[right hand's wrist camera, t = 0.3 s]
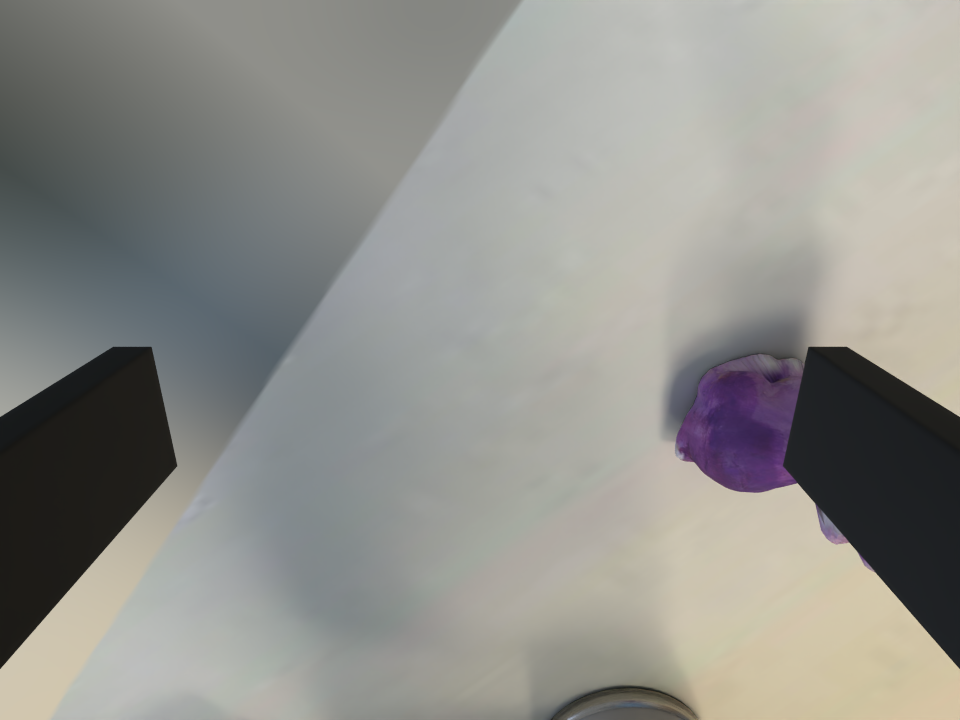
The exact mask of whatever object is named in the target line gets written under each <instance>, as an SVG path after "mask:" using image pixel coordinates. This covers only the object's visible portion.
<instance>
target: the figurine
mask: <svg viewBox="0 0 960 720" xmlns="http://www.w3.org/2000/svg"><path fill="white" fill-rule="evenodd" d="M804 365H805V364H803V363H802V362H801V361H800V360H798V359H795V358H789V359H781V360H777V359H775V358H773V357H772V356H771V355H765V354H758V355H750V356H747V357H741V358H740V359H736V360H732V361H729V362H726V363H724V364H721V365H719V366H716V367H714V368H712V369H710V370H709V371H708V372H707V373H706V374H705V375H704V376H702V378H701V381H700V383H699V386H698V394H697V397H696V399H695V402H694V405H693V406H692V408H691V409H690V411H689V412H688V414H687V415H686V417H685V419H684V422H683V424H682V426H681V428H680V430H679V432H678V435H677V437H676V443H675V453H676V456H677V457H678V458H679V459H680V460H682V461H688V462H695V463H696V464H697V466H698V467H699V468H700V470H701V471H702V472H703V473H704V474H706V475H707V476H708V477H710V478H711V479H713V480H714V481H716V482H717V483H719V484H721V485H723V486H724V487H726V488H728V489H731V490H735V491H739V492H754V493H757V492H765V491H769V490H772V489H774V488H779V487H784V486H788V485H792V484H796V483H797V482H796V481H795V479H794V478H793V477H792V476H791V475H790V474H789V473H788V471H787V470H786V469H785V468H784V467H783V462H784V458H785V453H786V449H787V444H788V439H789V435H790V430H791V425H792V421H793V416H794V412H795V407H796V402H797V398H798V393H799V389H800V384H801V379H802V375H803V370H804ZM816 509H817V513H818V518H819V522H820V527H821V531H822V532H823V534H824V535H825V537H826V538H827V539H828V540H829V541H831V542H832V543H834V544H844V543H848V542H849V541H848V540H847V539H846V538H845V537H844V536H843V535H842V533H841V532H840V531H839V530H838V529H837V528H836V526H835V525H834V524H833V523H832V522H831V521H830V520H829V518H828V517H827V516H826V515H825V514H824V513H823V512H822V510H821V509H820V508H819V507H818V506H817V505H816ZM858 554H859V553H858ZM859 556H860V558H861V559H862V561H863V563H864V565H865V566H866V567H867V568H868V569H870V570H871V571H873V572H875V571H874V570H873V569H872V568H871V567H870V565H869V564H868V563H867V562H866V561H865V560H864V559H863V557H862V556H861V555H860V554H859Z"/></svg>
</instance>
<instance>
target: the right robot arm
mask: <svg viewBox="0 0 960 720" xmlns="http://www.w3.org/2000/svg"><path fill="white" fill-rule="evenodd" d="M176 467H177V463H176V458H175V453H174V449H173V444H172V439H171V435H170V430H169V426H168V421H167V416H166V412H165V407H164V402H163V398H162V393H161V389H160V384H159V379H158V375H157V370H156V365H155V361H154V356H153V352H152V347H112V348H111V349H109V350H107V351H106V352H104V353H103V354H101V355H99V356H98V357H96V358H94V359H93V360H91V361H90V362H88V363H86V364H85V365H83V366H82V367H80V368H78V369H77V370H75V371H74V372H72V373H70V374H69V375H67V376H66V377H64V378H62V379H61V380H59V381H57V382H56V383H54V384H53V385H51V386H49V387H48V388H46V389H45V390H43V391H41V392H40V393H38V394H37V395H35V396H33V397H32V398H30V399H29V400H27V401H25V402H24V403H22V404H20V405H19V406H17V407H16V408H14V409H12V410H11V411H9V412H8V413H6V414H4V415H3V416H1V417H0V669H1V667H2V666H3V665H4V664H5V663H6V662H7V661H8V659H9V658H10V657H11V656H12V655H13V654H14V653H15V651H16V650H17V649H18V648H19V647H20V646H21V645H22V643H23V642H24V641H25V640H26V639H27V638H28V637H29V635H30V634H31V633H32V632H33V631H34V630H35V629H36V627H37V626H38V625H39V624H40V623H41V622H42V620H43V619H44V618H45V617H46V616H47V615H48V614H49V612H50V611H51V610H52V609H53V608H54V607H55V606H56V604H57V603H58V602H59V601H60V600H61V599H62V598H63V596H64V595H65V594H66V593H67V592H68V591H69V590H70V588H71V587H72V586H73V585H74V584H75V583H76V582H77V580H78V579H79V578H80V577H81V576H82V575H83V573H84V572H85V571H86V570H87V569H88V568H89V567H90V565H91V564H92V563H93V562H94V561H95V560H96V559H97V557H98V556H99V555H100V554H101V553H102V552H103V551H104V549H105V548H106V547H107V546H108V545H109V544H110V543H111V541H112V540H113V539H114V538H115V537H116V536H117V534H118V533H119V532H120V531H121V530H122V529H123V528H124V526H125V525H126V524H127V523H128V522H129V521H130V520H131V518H132V517H133V516H134V515H135V514H136V513H137V512H138V510H139V509H140V508H141V507H142V506H143V505H144V503H145V502H146V501H147V500H148V499H149V498H150V497H151V495H152V494H153V493H154V492H155V491H156V490H157V489H158V487H159V486H160V485H161V484H162V483H163V482H164V481H165V479H166V478H167V477H168V476H169V475H170V474H171V473H172V471H173V470H174V469H175V468H176ZM783 467H784V468H785V469H786V470H787V471H788V473H789V474H790V475H791V476H792V477H793V478H794V479H795V481H796V482H797V483H798V484H799V485H800V486H801V488H802V489H803V490H804V491H805V492H806V493H807V494H808V496H809V497H810V498H811V499H812V500H813V501H814V502H815V504H816V505H817V506H818V507H819V508H820V509H821V510H822V512H823V513H824V514H825V515H826V516H827V517H828V518H829V520H830V521H831V522H832V523H833V524H834V525H835V526H836V528H837V529H838V530H839V531H840V532H841V533H842V535H843V536H844V537H845V538H846V539H847V540H848V541H849V543H850V544H851V545H852V546H853V547H854V548H855V549H856V551H857V552H858V553H859V554H860V555H861V556H862V557H863V559H864V560H865V561H866V562H867V563H868V564H869V565H870V567H871V568H872V569H873V570H874V571H875V572H876V573H877V575H878V576H879V577H880V578H881V579H882V580H883V582H884V583H885V584H886V585H887V586H888V587H889V588H890V590H891V591H892V592H893V593H894V594H895V595H896V596H897V598H898V599H899V600H900V601H901V602H902V603H903V604H904V606H905V607H906V608H907V609H908V610H909V611H910V612H911V614H912V615H913V616H914V617H915V618H916V619H917V620H918V622H919V623H920V624H921V625H922V626H923V627H924V629H925V630H926V631H927V632H928V633H929V634H930V635H931V637H932V638H933V639H934V640H935V641H936V642H937V643H938V645H939V646H940V647H941V648H942V649H943V650H944V651H945V653H946V654H947V655H948V656H949V657H950V658H951V659H952V661H953V662H954V663H955V664H956V665H957V666H958V667H959V669H960V417H959V416H957V415H956V414H954V413H952V412H951V411H949V410H948V409H946V408H944V407H943V406H941V405H940V404H938V403H936V402H935V401H933V400H932V399H930V398H928V397H927V396H925V395H923V394H922V393H920V392H919V391H917V390H915V389H914V388H912V387H911V386H909V385H907V384H906V383H904V382H903V381H901V380H899V379H898V378H896V377H894V376H893V375H891V374H890V373H888V372H886V371H885V370H883V369H882V368H880V367H878V366H877V365H875V364H874V363H872V362H870V361H869V360H867V359H866V358H864V357H862V356H861V355H859V354H857V353H856V352H854V351H853V350H851V349H849V348H848V347H808V352H807V356H806V361H805V365H804V370H803V375H802V379H801V384H800V389H799V393H798V398H797V402H796V407H795V412H794V416H793V421H792V425H791V430H790V435H789V439H788V444H787V449H786V453H785V458H784V462H783ZM551 720H698V719H697V718H696V716H695V715H694V714H693V713H692V711H691V710H690V709H689V708H687V707H686V706H685V705H684V704H682V703H681V702H679V701H678V700H676V699H674V698H672V697H670V696H668V695H665V694H662V693H659V692H655V691H651V690H645V689H636V688H621V689H611V690H605V691H601V692H597V693H593V694H590V695H587V696H585V697H583V698H580V699H578V700H576V701H574V702H572V703H571V704H569V705H567V706H566V707H565V708H563V709H562V710H561V711H559V712H558V713H557V714H556V715H555V716H554V717H553V718H552V719H551Z"/></svg>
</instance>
